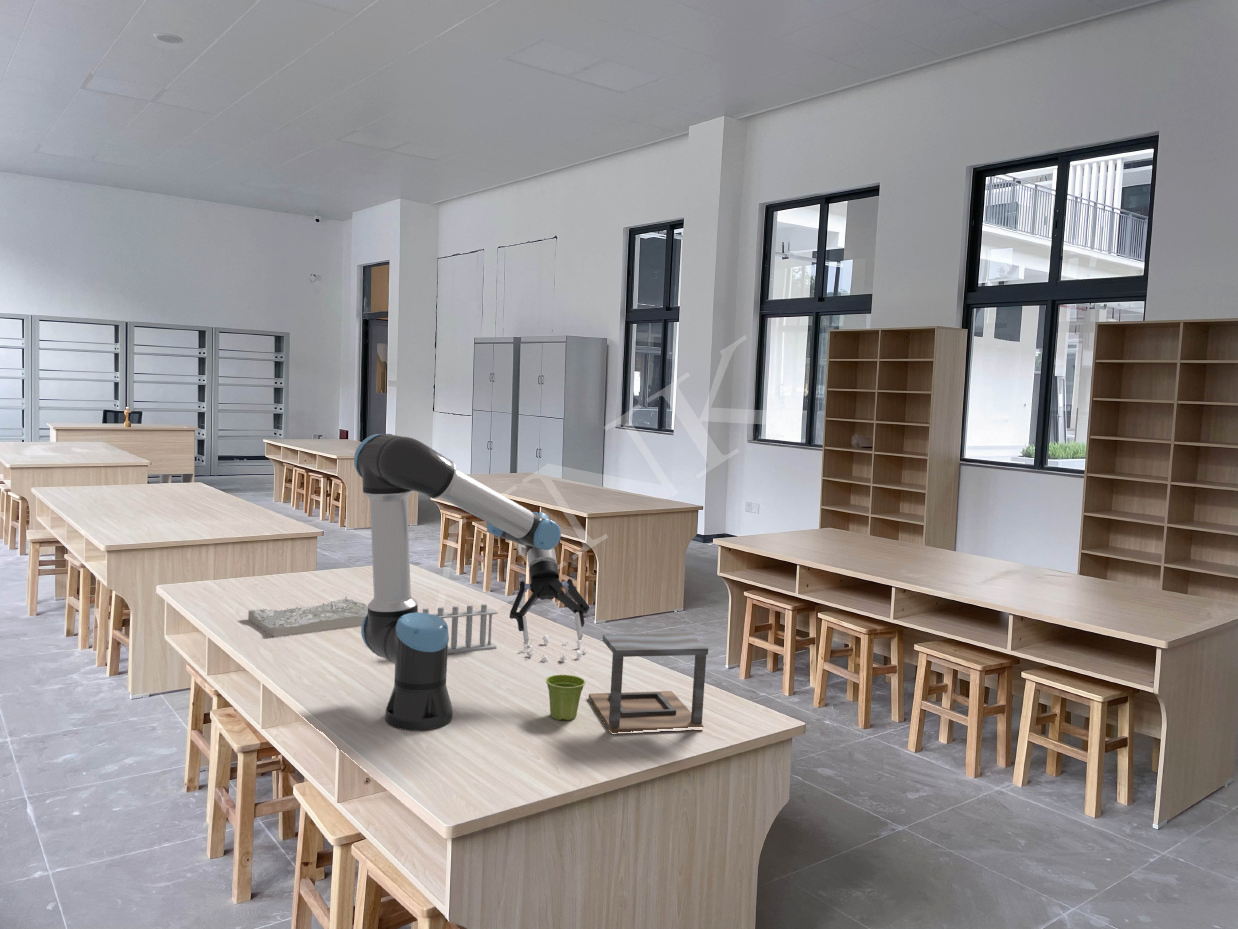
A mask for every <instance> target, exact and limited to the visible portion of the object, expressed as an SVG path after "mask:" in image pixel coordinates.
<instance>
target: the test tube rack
mask: <svg viewBox="0 0 1238 929" xmlns="http://www.w3.org/2000/svg"><path fill="white" fill-rule="evenodd" d="M451 609H452V610H451V612H449V611H448V612H445V608H444V607H443V606H438V607H437V613H432V614H433V615H436V616H438V617H440V618H442V619H443V620H444V619H451V634H450V636H451V638H450V646H448V653H447V655H448V654H458V653H466V652H467V653H468V652H469V653H470V652H478V651H487V650H496V649H497V646H496V645H495V644H494V643H493V642H492V623H493V622H492V621H493V616H494V615H498V612H497V611H496V610H494V609H493V608H491V609H490V608H489V609H488V604H487V603H482V604H481V605H480V610H479V609H478V610H474V605H473V604H467V606H466V610H465V611H463V610H462V611H459V606H458V605H453V606H452V608H451ZM422 613H427V614H430V609H429V608H428V607H424V608H422ZM473 616H474V617H475V616H480V621H479V622H480V626H479V643H473V644H472V637H473V636H472V635H473V634H472V633H473ZM487 616H489V617H487ZM462 617H463V618H464V617H466V620H465V622H466V624H465V641H464V642H465V644H462V645H458V627H459V626H458V625H459V618H462ZM487 618H488V635H487ZM486 635H487V636H488V639H487V642H486V637H487V636H486Z"/></svg>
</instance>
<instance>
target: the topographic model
mask: <svg viewBox="0 0 1238 929" xmlns="http://www.w3.org/2000/svg"><path fill="white" fill-rule="evenodd" d="M367 613H368V604H365V603H364V602H363V603H362V602H360V601H356V600H354V599H353V598H348V596H347V595H345V598H344V599H338V600H333V601H332V600H331V601H330V602H328V603H324V602H323V603H322V604H321V605H311V606H305V607H297V606H296V607H293V608H292V607H291V608H289V607H288V608H286V609H279V610H277V609H273V608H272V609H267V608H263V609H261V608H260V609H249V610H248V612H247V614H248V619H249V620H248V619H247V620H248V621H250V620H251V621H252V622H253V623H252V622H251V621H250V622H251V623H252V624H254V623H255V624H256V626H257V625H258V626H259V627H258V626H257V627H258V628H260V627H261V628H262V630H263V631H264V630H265V631H264V632H265V633H267V632H268V633H267V634H269V635H270V636H271V635H272V636H271V637H273V636H274V637H276V638H282V637H281V636H283V637H289V635H291V636H297V635H304V634H305V635H306V634H312V633H319V632H328V631H333V630H343V629H349V628H350V629H351V628H357V627H358V628H359V627H361V626H362V622H363V619H364V618H365V617H366V616H367ZM255 624H254V625H255ZM261 628H260V629H261ZM279 636H280V637H279ZM274 637H273V638H274Z"/></svg>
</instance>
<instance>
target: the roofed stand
mask: <svg viewBox="0 0 1238 929" xmlns="http://www.w3.org/2000/svg"><path fill="white" fill-rule="evenodd" d="M602 641H603V642H602V643H604V644H605V646H606V647H607V649H609V650H610V651H611V653H612V661H611V678H610V679H611V680H610V692H605V693H604V692H601V693H599V692H598V693H588V701H590V703H591V705H592V706H593V708H594V710H595V711H596V710H597V711H596V712H597V714H598V713H599V714H598V716H599V717H600V716H601V717H600V718H602V719H603V720H602V719H601V720H602V722H603V721H604V722H605V723H604V722H603V723H604V725H605V724H606V725H607V726H606V725H605V726H606V728H607V727H608V728H609V730H610V731H611V732H612V733H618V732H631V731H632V732H633V731H643V730H657V729H673V728H688V727H703V728H704V724H703V712H704V697H705V696H704V694H705V682H706V681H705V679H706V668H707V667H706V666H707V665H706V664H707V656H708V655H709V648H708V646H706V645H705V644H704V643H702V642H701V641H700V640H698V638H696V637H695V636H693V634H691V633H688V632H687V633H686V632H685V633H683V632H682V633H681V632H680V633H628V634H627V633H626V634H624V633H621V634H619V633H618V634H615V633H614V634H602ZM665 656H667V657H671V656H673V657H675V656H694V668H693V682H692V683H693V684H692V699H691V710H690V709H689V708H688V707H687V706H686V705H685V704H684V703H683V701H682V700H680V699H679V697H678V696H677V695H676V694H675V693H674V692H673V691H672V690H666V691H665V690H663V691H660V690H659V691H638V692H637V691H633V692H632V691H629V692H622V690H623V689H622V688H623V686H622V685H623V669H624V657H628V658H629V657H631V658H632V657H665ZM608 728H607V729H608ZM609 730H608V731H609ZM610 731H609V732H610Z"/></svg>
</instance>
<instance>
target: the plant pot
mask: <svg viewBox="0 0 1238 929" xmlns="http://www.w3.org/2000/svg"><path fill="white" fill-rule="evenodd" d="M545 683H546V685H547V689H548V697H549V712H550V716H551V718H553V719H555V720H559V721H561V720H566V721H570V720H574V719H576V717H577V713H578V709H579V703H580V699H581V695H582V692H583V689H584V686H585V685H586V680H585V679H584V678H582V677H580V676H577V675H571V674H555V675H554V674H553V675H549V676H548V677H546V679H545Z"/></svg>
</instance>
